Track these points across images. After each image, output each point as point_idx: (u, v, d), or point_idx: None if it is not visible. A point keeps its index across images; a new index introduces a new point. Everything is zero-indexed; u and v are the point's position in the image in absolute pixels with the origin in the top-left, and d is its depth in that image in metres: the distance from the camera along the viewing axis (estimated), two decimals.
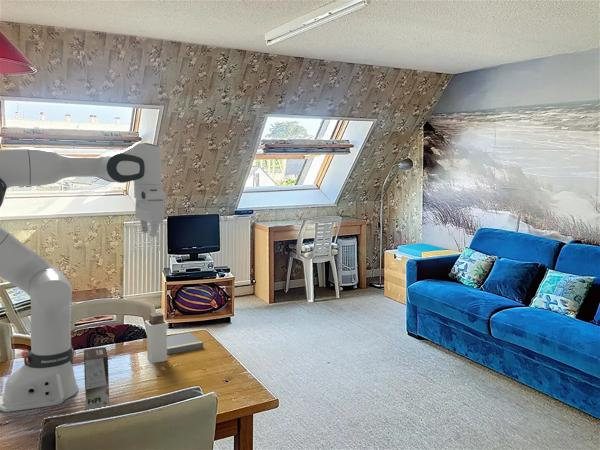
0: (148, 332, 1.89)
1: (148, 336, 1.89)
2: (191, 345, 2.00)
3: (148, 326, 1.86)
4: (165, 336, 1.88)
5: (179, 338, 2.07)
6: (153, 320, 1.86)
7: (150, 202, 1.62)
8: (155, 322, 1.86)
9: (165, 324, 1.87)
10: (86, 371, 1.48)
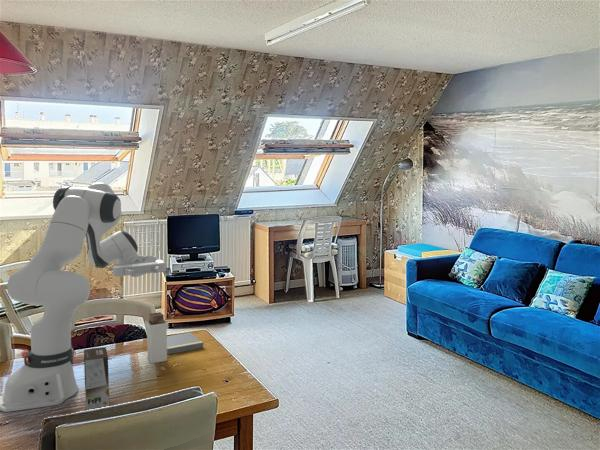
0: (148, 332, 1.89)
1: (148, 336, 1.89)
2: (191, 345, 2.00)
3: (148, 326, 1.86)
4: (165, 336, 1.88)
5: (179, 338, 2.07)
6: (153, 320, 1.86)
7: None
8: (155, 322, 1.86)
9: (165, 324, 1.87)
10: (86, 371, 1.48)
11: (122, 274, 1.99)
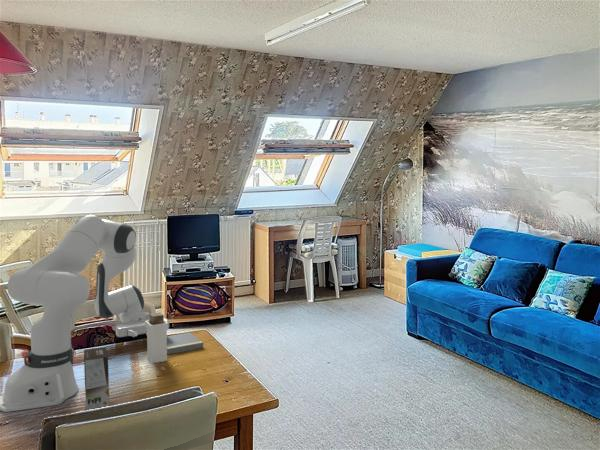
0: (148, 332, 1.89)
1: (148, 336, 1.89)
2: (191, 345, 2.00)
3: (148, 326, 1.86)
4: (165, 336, 1.88)
5: (179, 338, 2.07)
6: (153, 320, 1.86)
7: None
8: (155, 322, 1.86)
9: (165, 324, 1.87)
10: (86, 371, 1.48)
11: (125, 335, 1.99)
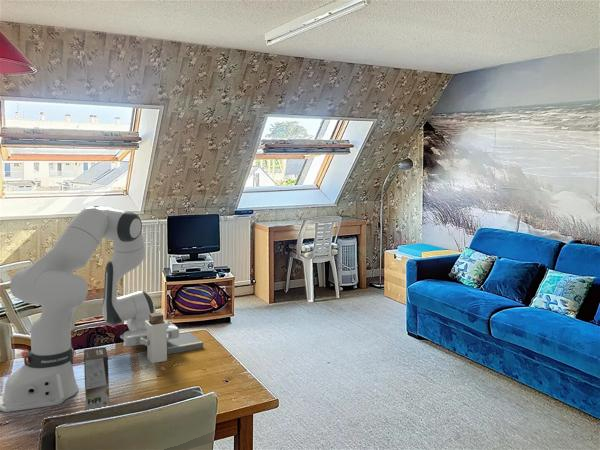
0: (148, 332, 1.89)
1: (148, 336, 1.89)
2: (191, 345, 2.00)
3: (148, 326, 1.86)
4: (165, 336, 1.88)
5: (179, 338, 2.07)
6: (153, 320, 1.86)
7: None
8: (155, 322, 1.86)
9: (165, 324, 1.87)
10: (86, 371, 1.48)
11: (134, 344, 1.89)
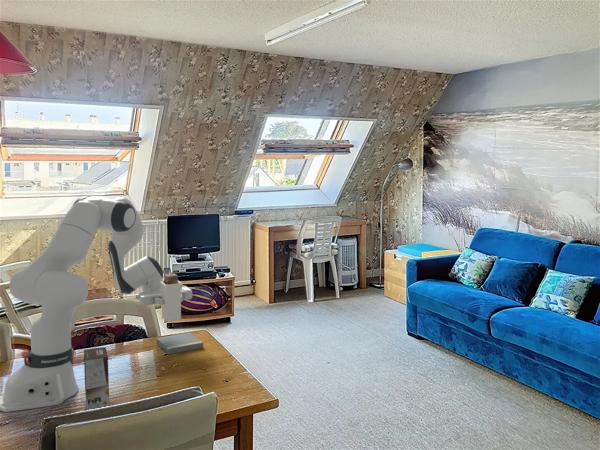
0: (162, 292, 1.96)
1: (163, 296, 1.96)
2: (191, 345, 2.00)
3: (163, 286, 1.94)
4: (179, 296, 1.96)
5: (179, 338, 2.07)
6: (168, 280, 1.93)
7: None
8: (169, 282, 1.94)
9: (179, 284, 1.95)
10: (86, 371, 1.48)
11: (149, 303, 1.97)
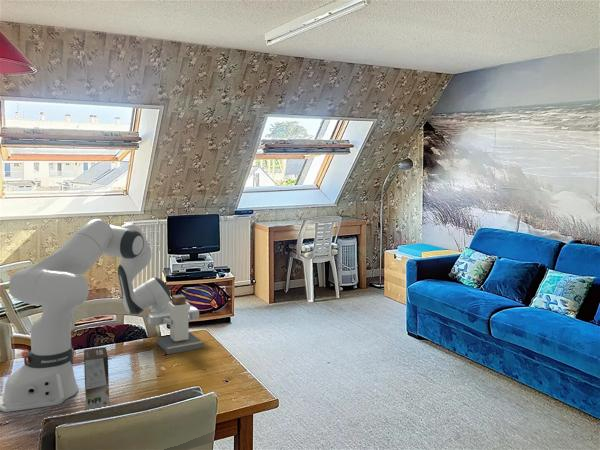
0: (171, 312, 2.03)
1: (171, 316, 2.03)
2: (191, 345, 2.00)
3: (171, 307, 2.00)
4: (187, 316, 2.03)
5: None
6: (176, 301, 2.00)
7: None
8: (178, 303, 2.01)
9: (187, 305, 2.01)
10: (86, 371, 1.48)
11: (158, 323, 2.03)
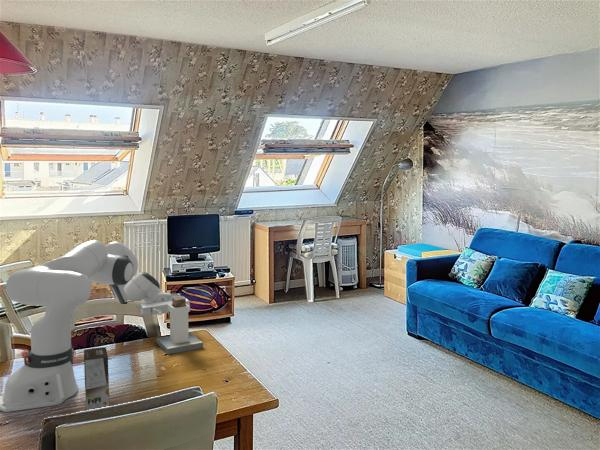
0: (171, 314, 2.03)
1: (171, 318, 2.03)
2: (191, 345, 2.00)
3: (171, 309, 2.01)
4: (187, 318, 2.03)
5: None
6: (176, 303, 2.00)
7: None
8: (178, 305, 2.01)
9: (187, 307, 2.02)
10: (86, 371, 1.48)
11: (150, 313, 2.14)
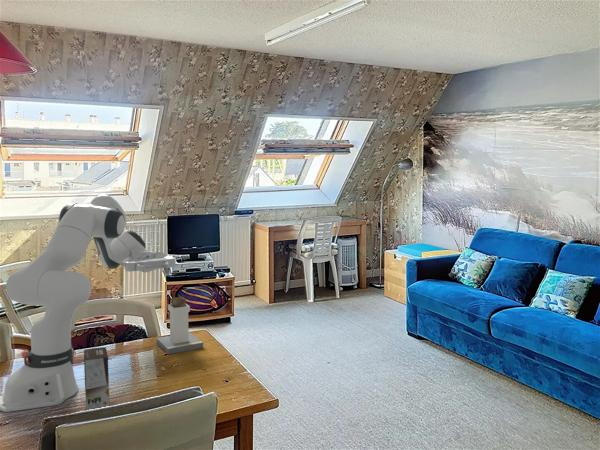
0: (171, 314, 2.03)
1: (171, 318, 2.03)
2: (191, 345, 2.00)
3: (171, 309, 2.01)
4: (187, 318, 2.03)
5: None
6: (176, 303, 2.00)
7: None
8: (178, 305, 2.01)
9: (187, 307, 2.02)
10: (86, 371, 1.48)
11: (134, 269, 2.07)
